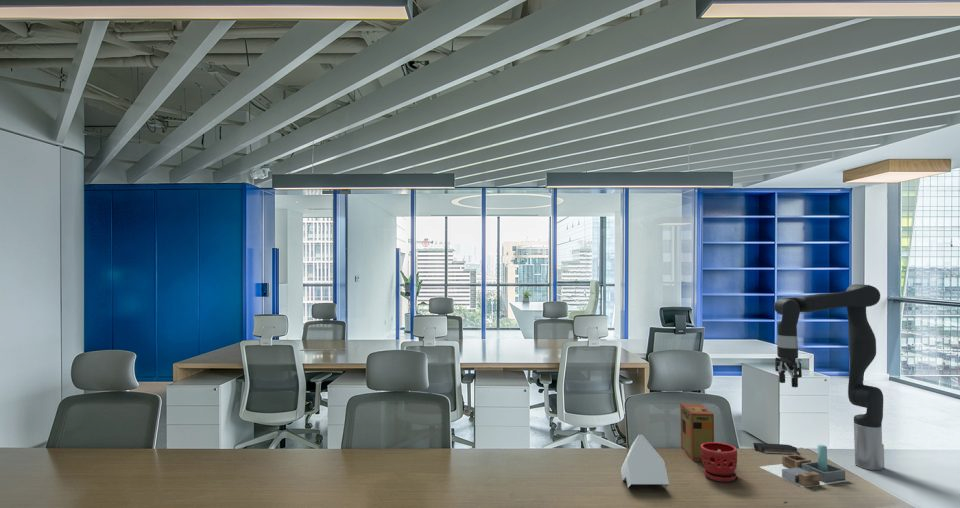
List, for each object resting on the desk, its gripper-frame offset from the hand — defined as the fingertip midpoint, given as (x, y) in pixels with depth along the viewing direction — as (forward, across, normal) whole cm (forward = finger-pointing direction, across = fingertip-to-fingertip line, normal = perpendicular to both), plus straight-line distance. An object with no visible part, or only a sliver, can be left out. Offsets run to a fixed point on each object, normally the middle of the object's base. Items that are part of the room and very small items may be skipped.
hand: (788, 384), depth 213 cm
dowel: (+31, -15, -4) cm, 35 cm away
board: (+33, -12, +3) cm, 36 cm away
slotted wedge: (+34, -17, +68) cm, 78 cm away
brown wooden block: (+32, -23, +7) cm, 40 cm away
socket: (+32, -7, +1) cm, 33 cm away
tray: (+32, -15, -4) cm, 35 cm away
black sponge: (+34, +14, -2) cm, 37 cm away
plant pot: (+33, -13, +36) cm, 51 cm away
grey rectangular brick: (+32, -18, +8) cm, 37 cm away
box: (+33, +13, +34) cm, 49 cm away
